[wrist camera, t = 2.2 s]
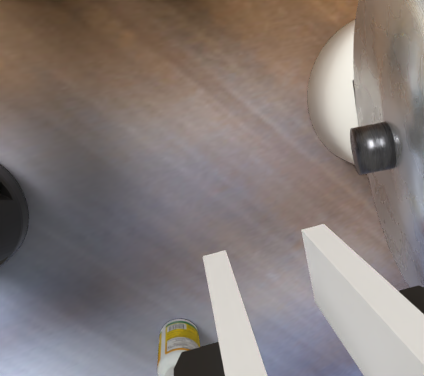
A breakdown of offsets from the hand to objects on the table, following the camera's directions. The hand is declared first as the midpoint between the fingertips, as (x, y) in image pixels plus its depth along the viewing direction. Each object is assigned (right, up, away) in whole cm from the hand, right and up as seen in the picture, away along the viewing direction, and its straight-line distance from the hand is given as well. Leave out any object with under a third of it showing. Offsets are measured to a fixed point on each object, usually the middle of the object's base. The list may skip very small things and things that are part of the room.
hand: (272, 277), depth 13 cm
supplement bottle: (-6, -17, +40) cm, 44 cm away
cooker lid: (+10, +6, +10) cm, 16 cm away
